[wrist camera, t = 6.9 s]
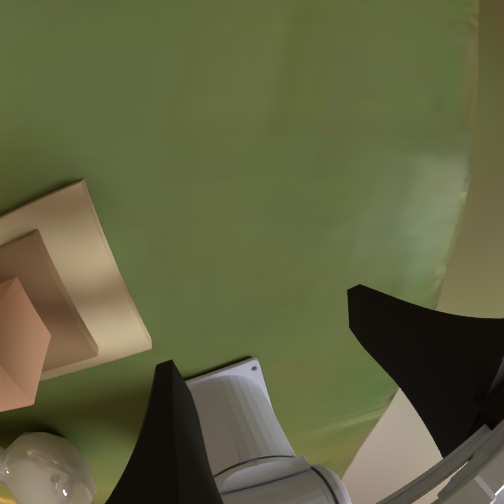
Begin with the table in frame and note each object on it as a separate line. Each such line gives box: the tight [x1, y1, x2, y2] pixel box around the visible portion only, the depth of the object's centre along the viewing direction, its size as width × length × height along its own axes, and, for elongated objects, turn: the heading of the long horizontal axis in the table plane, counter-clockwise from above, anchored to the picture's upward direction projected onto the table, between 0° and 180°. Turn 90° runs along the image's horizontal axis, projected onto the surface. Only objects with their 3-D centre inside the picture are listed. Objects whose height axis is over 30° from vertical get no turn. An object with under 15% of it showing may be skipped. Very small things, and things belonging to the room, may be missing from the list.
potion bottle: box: [0, 432, 97, 504], centre depth 19 cm, size 9×10×15 cm
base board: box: [0, 179, 152, 381], centre depth 17 cm, size 12×16×2 cm
